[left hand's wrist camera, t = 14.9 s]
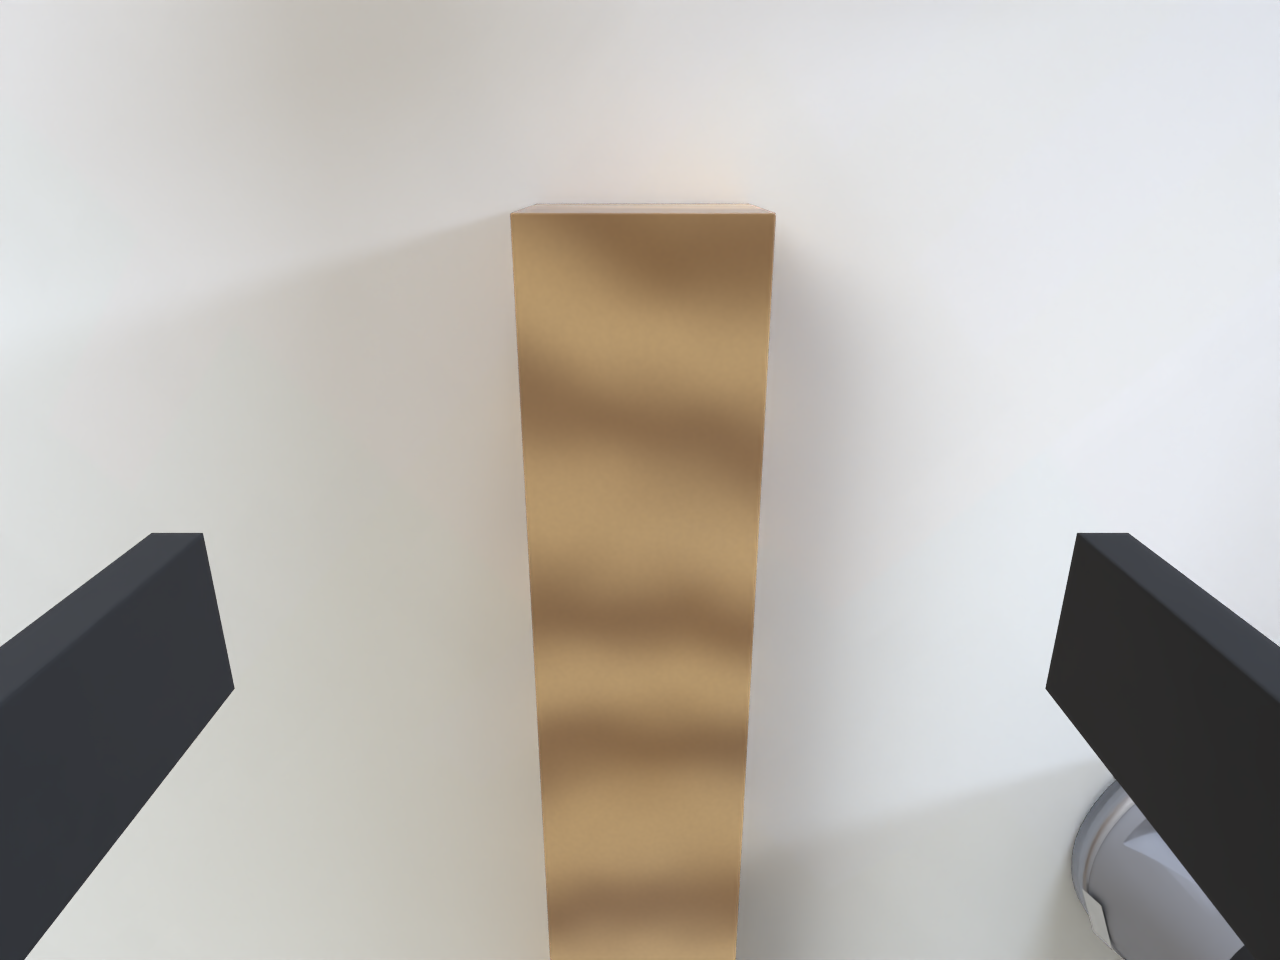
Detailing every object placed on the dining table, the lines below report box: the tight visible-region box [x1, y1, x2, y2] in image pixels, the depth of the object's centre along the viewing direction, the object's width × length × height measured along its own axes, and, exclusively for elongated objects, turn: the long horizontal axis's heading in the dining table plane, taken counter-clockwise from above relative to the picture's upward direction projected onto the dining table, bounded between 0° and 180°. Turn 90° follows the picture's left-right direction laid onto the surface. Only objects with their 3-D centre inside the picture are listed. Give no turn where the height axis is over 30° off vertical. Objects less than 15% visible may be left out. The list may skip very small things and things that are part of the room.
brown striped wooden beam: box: [510, 204, 776, 960], centre depth 40 cm, size 59×9×7 cm, turn 0°
